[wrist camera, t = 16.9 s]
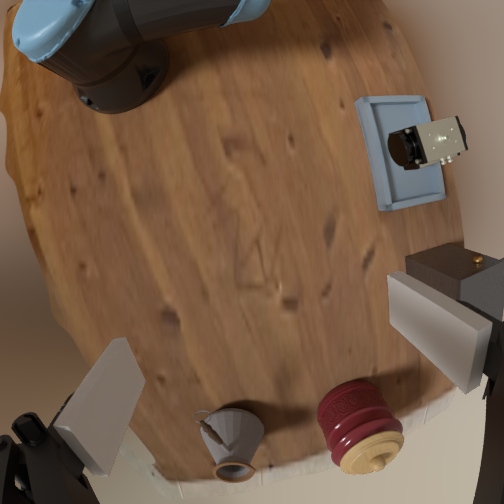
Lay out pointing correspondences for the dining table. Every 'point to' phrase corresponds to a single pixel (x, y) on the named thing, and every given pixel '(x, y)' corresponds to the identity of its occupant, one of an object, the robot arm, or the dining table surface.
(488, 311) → the box
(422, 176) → the tray
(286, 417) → the dining table surface
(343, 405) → the canister
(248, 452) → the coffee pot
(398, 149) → the pneumatic valve
